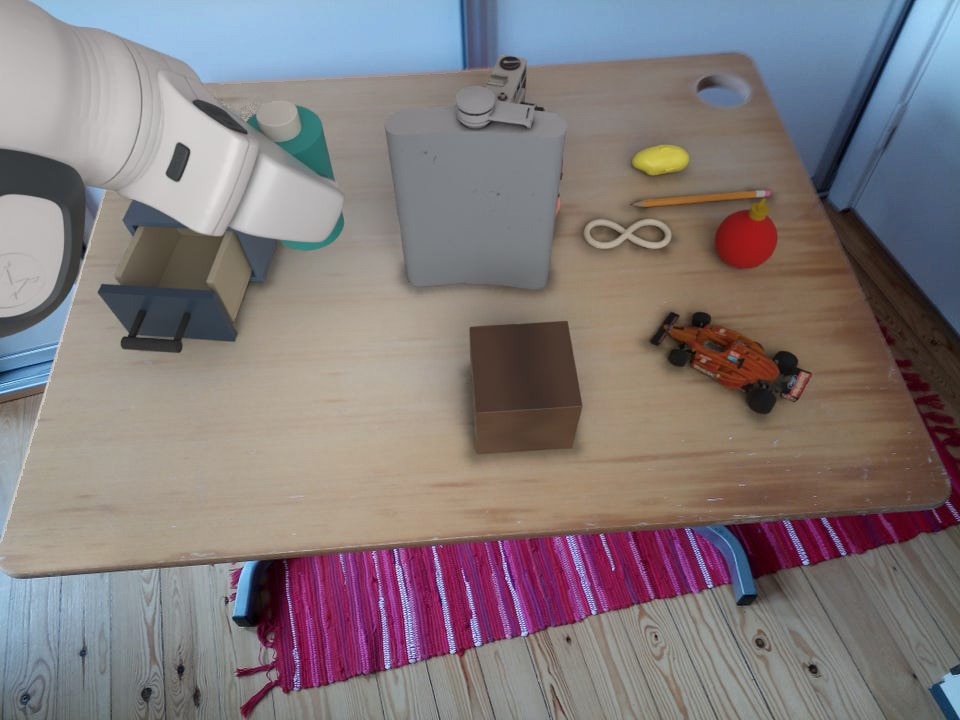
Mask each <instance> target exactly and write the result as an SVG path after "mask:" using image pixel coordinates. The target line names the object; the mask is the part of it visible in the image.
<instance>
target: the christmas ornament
mask: <svg viewBox="0 0 960 720" xmlns="http://www.w3.org/2000/svg"><path fill="white" fill-rule="evenodd" d="M767 201H768V199H767V197H763V198H762V199H761V200H760V201H756V202H753V203H752V204H751V205H750V208H749V209H742V210H737V211H735V212H733V213H731V214H729V215H728V216H726V217H725V218H724V219H723V220H722V221H721V223H720V224H719V226H718V227H717V229H716V232H715V234H714V235H715V236H714V246H715V249H716V250H715V251H716V253H717V255H718V256H719V258H720V259H721V260H722V261H723V262H724V263H725V264H727V265H728V266H730V267H732V268H735V269H739V270H747V269H748V270H749V269H754V268H756V267H759V266H761V265H762V264H764V263H766V262H767V261H768V260H769V259H770V258H771V257H772V256H773V254H774V252H775V250H776V248H777V245H778V239H779V238H778V229H777V227H776V225H775V223H774V222H773V220H772V219H771V217H769V216H768V214H769V212H770V207H769V206H768V205H767V204H766V203H767Z"/></svg>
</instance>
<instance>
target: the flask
mask: <svg viewBox="0 0 960 720" xmlns="http://www.w3.org/2000/svg"><path fill="white" fill-rule="evenodd" d="M454 99H455V105H444V106H431V107H417V108H404V109H399V110H398V109H397V110H395V111H393V112H391V113H389V114H388V115H387V117H386V118H385V120H384V124H383V125H384V131H385V138H386V144H387V150H388V151H387V152H388V158H389V164H390V171H391V178H392V184H393V192H394V198H395V204H396V205H395V206H396V211H397V212H396V213H397V218H398V226H399V231H400V238H401V244H402V245H401V246H402V252H403V258H404V264H405V273H406V278H407V281H408V283H409V284H410V285H411V286H413V287H417V288H424V287H436V286H437V287H438V286H447V285H489V286H490V285H491V286H502V287H510V288H517V289H526V290H532V291H536V290H542V289H543V288H545V287H546V286H547V283H548V280H549V275H550V274H549V273H550V267H551V266H550V264H551V259H552V248H553V240H554V232H555V225H556V224H555V223H556V217H557V215H556V209H557V201H558V193H559V194H560V185H561V184H560V183H561V180H560V176H561V168H562V160H563V161H564V152H565V143H566V135H567V134H566V133H567V122H566V121H565V118H563V116H561V115H560V114H559V113H555V112H551V111H546V112H544V111H535V110H534V106H531V105H523V104H515V103H508V102H500V101H495V95H494V94H493V92H492V91H491V90H489V89H488V88H485V86H480V85H471V86H467V87H463V88H462V89H460V90H458V92H457V93H456V95H455V98H454ZM562 169H563V168H562Z"/></svg>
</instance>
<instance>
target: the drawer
mask: <svg viewBox="0 0 960 720" xmlns="http://www.w3.org/2000/svg"><path fill="white" fill-rule="evenodd" d="M119 262H120V263H119V264H118V267H117V268H116V271H115V272H114V275H113V277H114V278H115V280H116V281H117V283H118V284H113V283H112V284H111V283H101V284H100V286H99V287H98V290H97V294H98V295H99V296H100V298H101V299H102V300H103V302H104V303H105V305H107V307H108V309H110V311H111V312H112V313H113V314H114V316H115V317H116V319H117V320H118V321H119V323H120V324H121V325H122V327H123V328H124V329H125V331H127V333H128V334H127V335H124V336H122V337H121V339H120V348H121V349H122V350H126V351H127V350H128V351H139V352H141V351H142V352H156V353H171V354H181V352H182V351H183V347H184V344H183V341H182V340H183V339H187V340H188V339H189V340H201V341H202V340H204V341H219V342H232V343H234V342H236V340H237V337H238V334H239V333H238V330H237V329H236V327H235V326H234V324H233V323H235V321H236V318H237V316H238V312H239V309H240V307H241V304H242V302H243V299H244V295H245V293H246V290H247V288H248V284H249V282H250V281H249V279H250V276H251V273H252V270H253V269H252V267H251V265H250V262H249V260H248V258H247V256H246V253H245V251H244V249H243V247H242V244H241V242H240V240H239V238H238V235H237V233H236V231H225V233H224V234H223V235H222V236H210V235H204V234H200V233H198V232H195V231H193V230H192V229H186V228H169V227H152V226H138V228H137V230H136V232H135V234H134V236H133V237H132V239H131V240H130V243H129V244H128V246H127V248H126V250H125V252H124V254H123V256H122V258H121V261H119ZM156 337H157V338H156Z"/></svg>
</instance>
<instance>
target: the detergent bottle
mask: <svg viewBox="0 0 960 720" xmlns="http://www.w3.org/2000/svg"><path fill="white" fill-rule="evenodd" d="M246 122H247V123H248V124H250V125H251V126H252V127H254V128H255V129H257V130H258V131H259V132H261V133H262V134H263V135H265V136H266V137H268V138H269V139H270V140H272V141H273V142H274V143H276V144H277V145H279V146H280V147H281V148H283V149H284V150H285V151H287V152H288V153H290V154H291V155H292V156H294V157H295V158H296V159H298V160H299V161H300V162H302V163H303V164H305V165H306V166H307V167H309V168H310V169H311V170H313V171H314V172H318V173H321V174H325V175H326V176H328V177H329V178H331V179H332V180H334V181H335V182H336V180H335V179H336V178H335V175H334V171H333V166H332V161H331V156H330V153H329V149H328V143H327V140H326V136H325V131H324V127H323V122H322V120H321V118H320V117H319V115H318V114H316V113H315V111H313V110H311V109H309V108H307V107H304V106H301V105H295V104H294V103H293V102H290V101H288V100H282V99H277V100H271V101H268V102H265V103H264V104H262V105H261V106H259V108H258V109H257V111H256V113H254V114H253V115H251V116H250V117H249V118H248V119H247V120H246ZM343 213H344V212H343V211H342V212H341V214H340V217H339V219H338V221H337V223H336V225H335V227H334V229H333V231H332V232H331V234H330V235H329V236H328V237H327V238H326V239H325V240H324V241H321V242H299V241H288V240H279V239H278V241H279V242H280V244H282V245H283V246H285V247H287V248H289V249H291V250H295V251H300V252H301V251H304V252H306V251H314V250H319V249H321V248H324V247H327V246H328V245H330V244H332V243H333V242H335V241H336V239H337V240H338V238H339V236H340V235H341V233H342V232H343V230H344V227H345V218H344V214H343Z"/></svg>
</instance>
